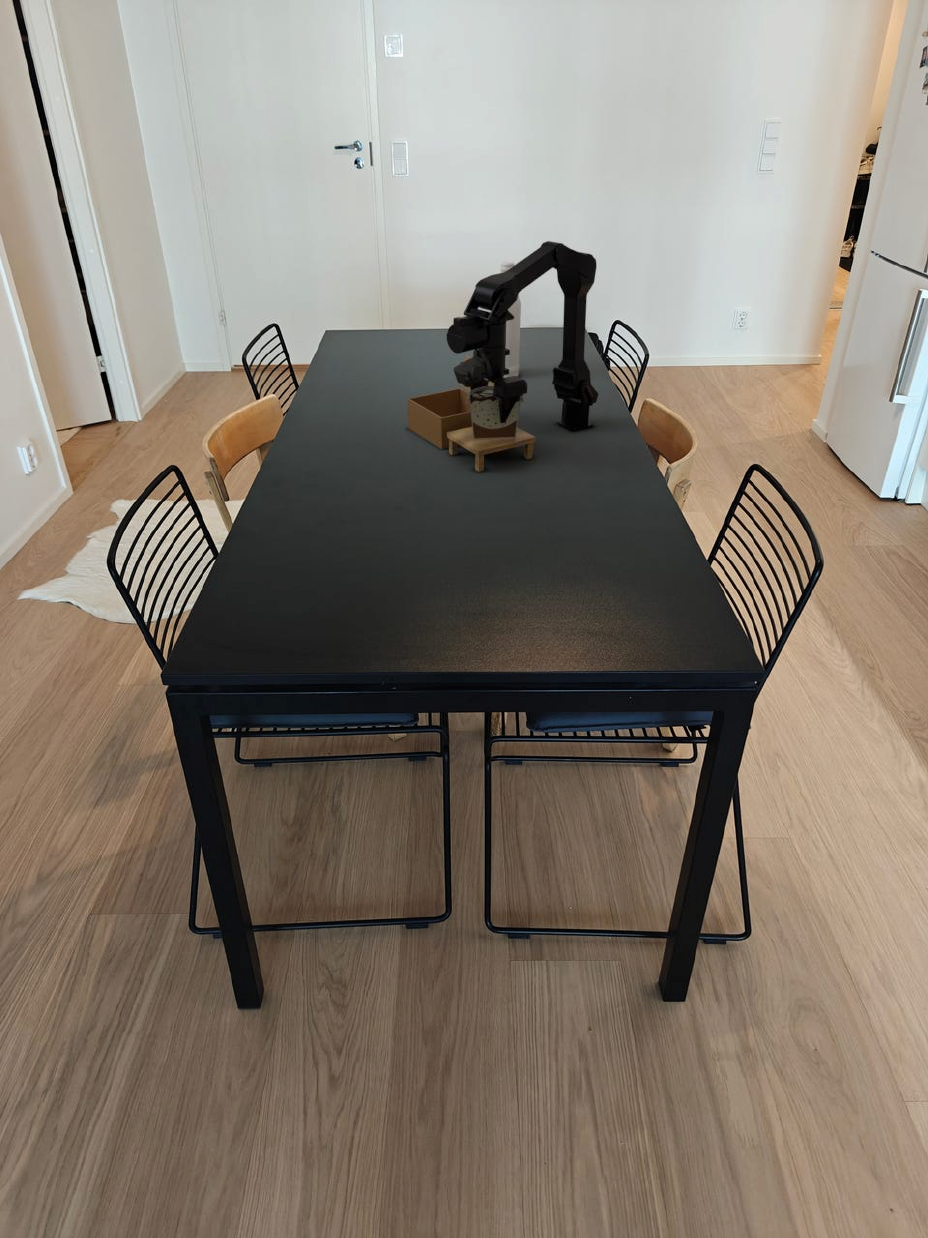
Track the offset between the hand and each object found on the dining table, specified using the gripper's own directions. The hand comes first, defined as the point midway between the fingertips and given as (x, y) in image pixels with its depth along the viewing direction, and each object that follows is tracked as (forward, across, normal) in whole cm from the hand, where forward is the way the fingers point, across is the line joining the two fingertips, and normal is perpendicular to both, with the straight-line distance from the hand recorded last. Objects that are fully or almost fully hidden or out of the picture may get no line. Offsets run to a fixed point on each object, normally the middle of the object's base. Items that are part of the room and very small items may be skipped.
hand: (491, 416), depth 183 cm
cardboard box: (+9, -17, 0) cm, 19 cm away
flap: (-3, -17, +8) cm, 19 cm away
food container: (+4, 0, +1) cm, 4 cm away
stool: (+9, 0, 0) cm, 9 cm away
